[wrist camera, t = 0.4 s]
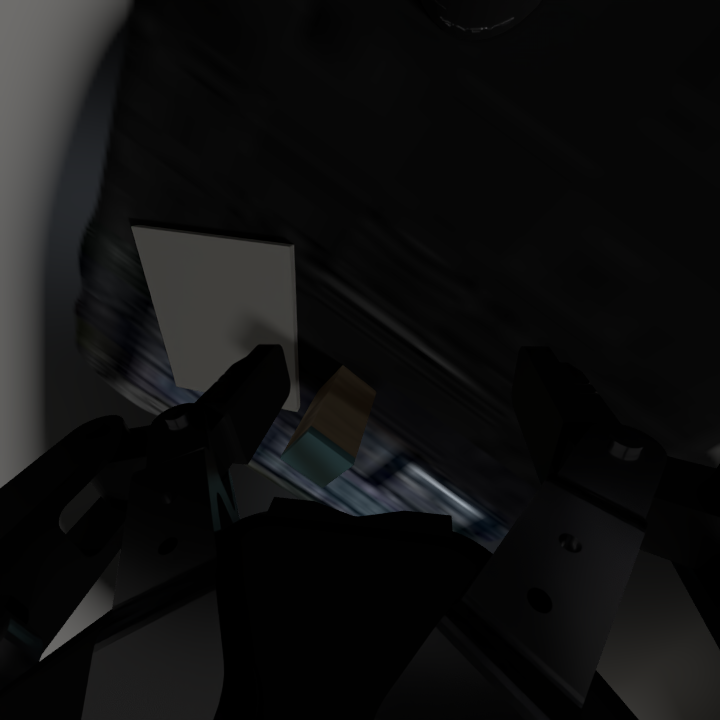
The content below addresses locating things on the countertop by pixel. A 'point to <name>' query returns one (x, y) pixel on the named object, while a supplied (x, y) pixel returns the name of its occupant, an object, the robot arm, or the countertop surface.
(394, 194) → the countertop surface
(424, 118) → the countertop surface
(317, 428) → the brown tall block
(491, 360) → the countertop surface
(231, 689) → the robot arm
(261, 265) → the cream board
